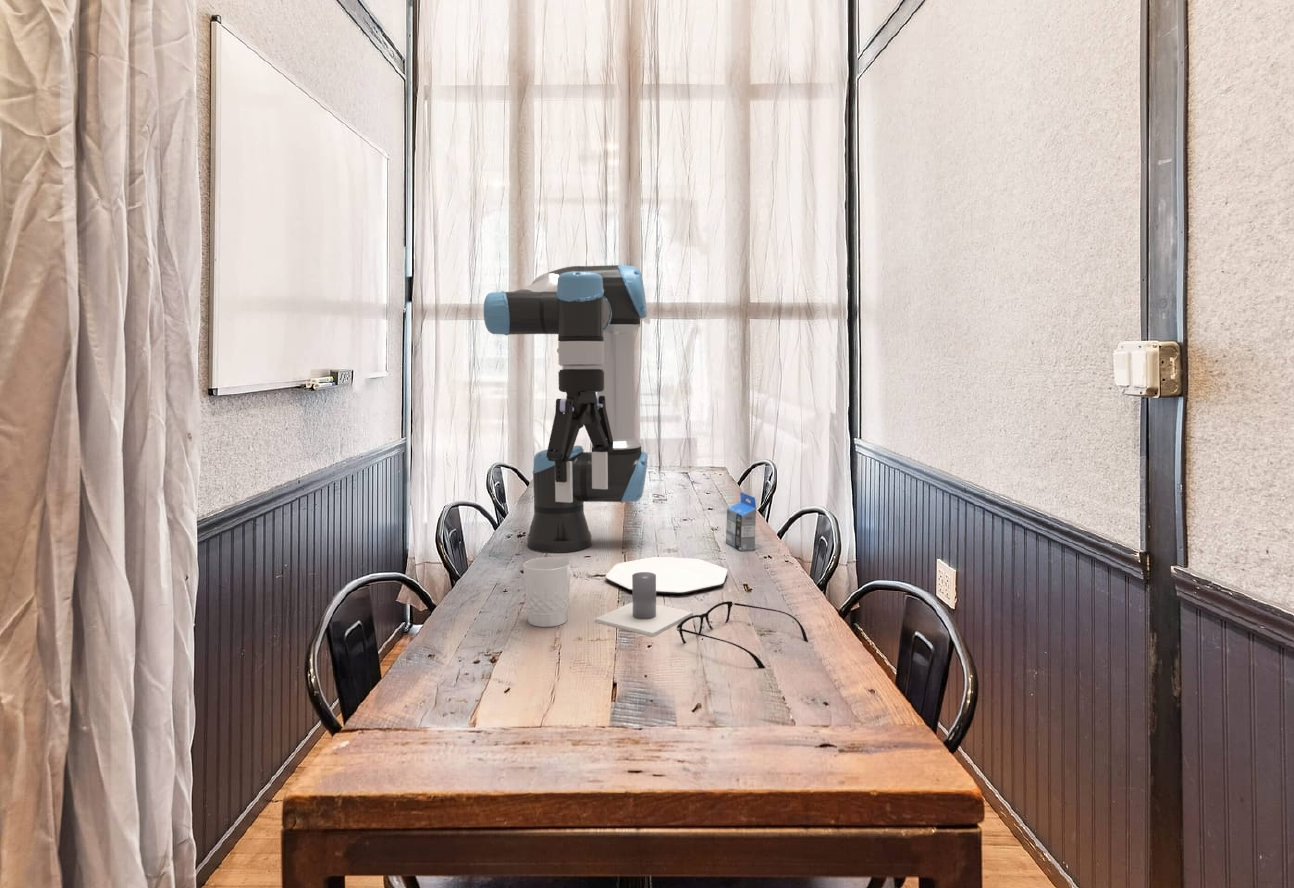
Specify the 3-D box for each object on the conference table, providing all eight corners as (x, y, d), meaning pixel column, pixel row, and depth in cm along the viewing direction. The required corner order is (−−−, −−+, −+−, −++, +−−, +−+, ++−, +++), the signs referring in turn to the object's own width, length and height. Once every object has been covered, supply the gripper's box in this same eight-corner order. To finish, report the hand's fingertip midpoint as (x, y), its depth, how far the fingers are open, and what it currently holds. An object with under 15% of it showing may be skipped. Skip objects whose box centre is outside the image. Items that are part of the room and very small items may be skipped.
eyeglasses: (730, 620, 130) (730, 597, 130) (814, 641, 120) (814, 616, 120) (671, 648, 118) (671, 623, 117) (760, 675, 108) (760, 648, 107)
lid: (636, 605, 138) (636, 562, 137) (692, 617, 131) (692, 572, 130) (594, 624, 128) (594, 578, 128) (653, 639, 122) (652, 590, 121)
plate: (719, 601, 140) (719, 593, 139) (595, 594, 144) (594, 586, 144) (731, 567, 163) (731, 560, 162) (623, 561, 167) (623, 555, 167)
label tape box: (725, 542, 182) (725, 492, 181) (740, 541, 183) (741, 491, 182) (740, 551, 174) (740, 498, 172) (756, 550, 175) (757, 497, 174)
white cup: (563, 630, 125) (561, 570, 123) (517, 627, 126) (516, 568, 125) (577, 614, 132) (576, 558, 131) (533, 611, 134) (532, 556, 133)
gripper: (593, 367, 138) (594, 482, 141) (522, 368, 115) (525, 506, 118) (631, 367, 136) (631, 485, 138) (566, 368, 113) (568, 509, 115)
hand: (582, 495), depth 128 cm, fingers open, 13 cm apart
